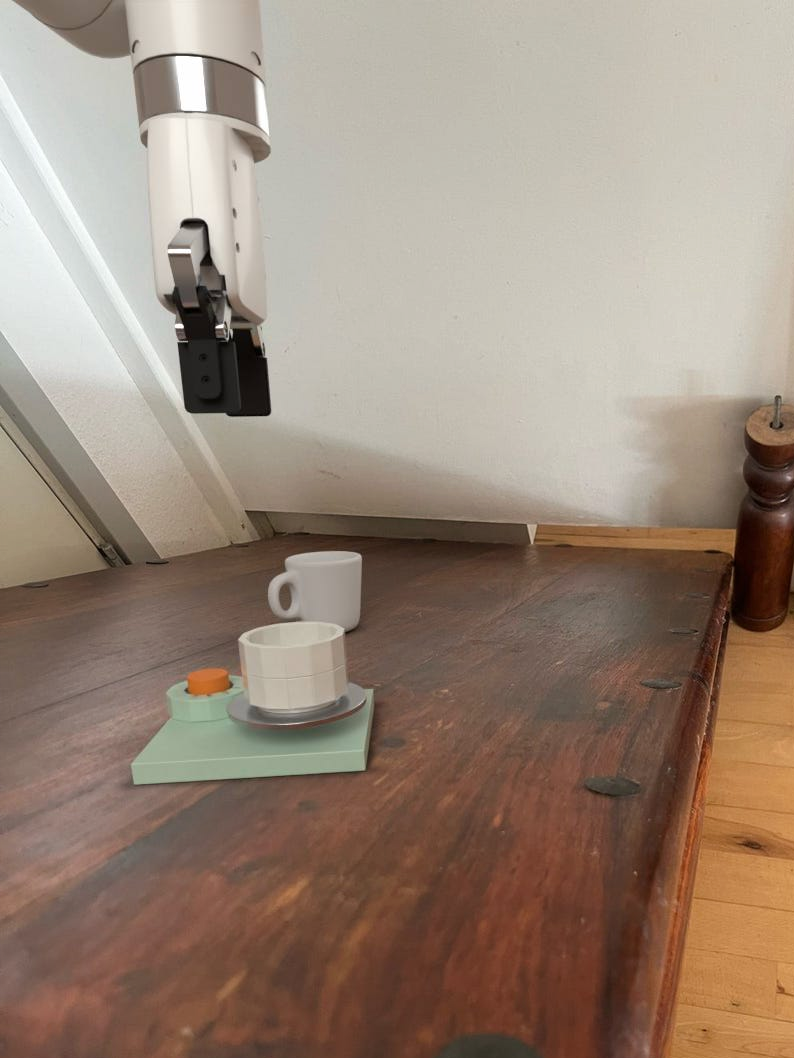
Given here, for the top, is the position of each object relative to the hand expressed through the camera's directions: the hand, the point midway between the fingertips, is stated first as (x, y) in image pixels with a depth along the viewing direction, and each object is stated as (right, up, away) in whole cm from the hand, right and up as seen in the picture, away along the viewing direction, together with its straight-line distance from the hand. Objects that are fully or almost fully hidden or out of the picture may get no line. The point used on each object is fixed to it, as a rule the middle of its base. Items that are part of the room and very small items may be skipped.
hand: (232, 414), depth 51 cm
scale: (+2, -22, +2) cm, 22 cm away
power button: (-3, -19, +4) cm, 19 cm away
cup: (-1, -14, +31) cm, 34 cm away
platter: (+4, -19, 0) cm, 20 cm away
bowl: (+4, -19, 0) cm, 19 cm away
